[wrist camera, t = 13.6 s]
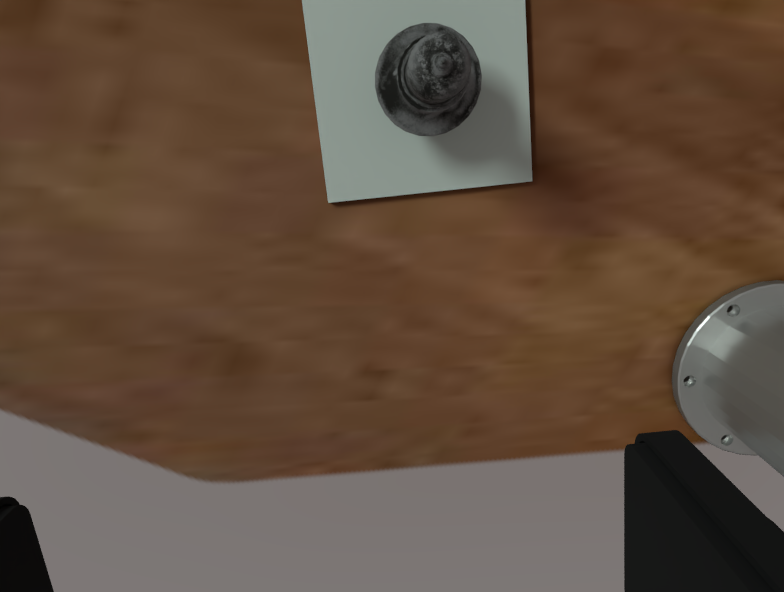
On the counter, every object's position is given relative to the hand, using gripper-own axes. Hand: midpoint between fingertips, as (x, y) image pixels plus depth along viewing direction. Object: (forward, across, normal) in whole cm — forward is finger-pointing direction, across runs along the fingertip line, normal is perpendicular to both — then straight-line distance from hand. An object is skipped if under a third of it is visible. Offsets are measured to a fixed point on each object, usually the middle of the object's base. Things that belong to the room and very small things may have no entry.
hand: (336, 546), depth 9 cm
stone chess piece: (+30, -4, -9) cm, 32 cm away
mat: (+30, -4, -9) cm, 32 cm away
